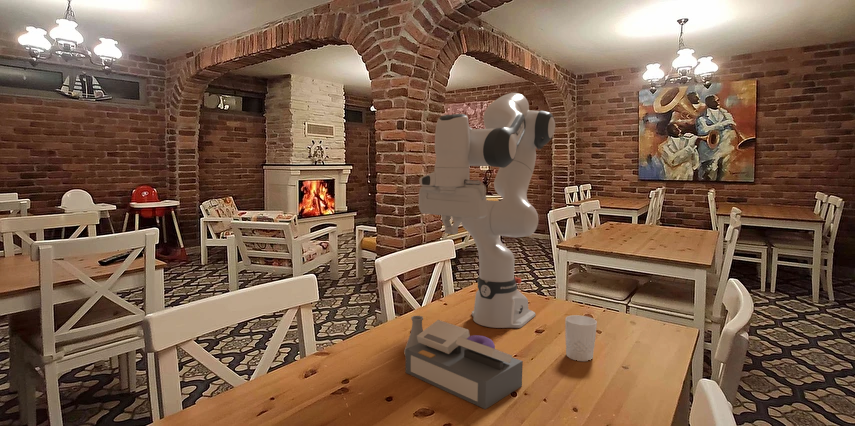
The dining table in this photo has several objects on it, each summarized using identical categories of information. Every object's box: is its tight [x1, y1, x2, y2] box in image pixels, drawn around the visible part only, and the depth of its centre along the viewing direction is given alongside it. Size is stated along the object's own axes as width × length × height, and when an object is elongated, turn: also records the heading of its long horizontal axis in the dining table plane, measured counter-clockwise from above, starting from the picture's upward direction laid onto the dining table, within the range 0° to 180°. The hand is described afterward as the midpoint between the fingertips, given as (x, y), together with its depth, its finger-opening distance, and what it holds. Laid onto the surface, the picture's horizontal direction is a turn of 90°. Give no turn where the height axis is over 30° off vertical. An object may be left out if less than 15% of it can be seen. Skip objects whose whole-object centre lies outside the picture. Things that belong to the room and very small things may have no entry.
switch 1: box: [417, 319, 471, 354], centre depth 112 cm, size 8×10×2 cm
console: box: [405, 343, 524, 410], centre depth 108 cm, size 14×24×8 cm, turn 46°
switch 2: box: [456, 336, 513, 363], centre depth 104 cm, size 8×10×2 cm
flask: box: [403, 315, 424, 357], centre depth 123 cm, size 7×7×10 cm
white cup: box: [564, 314, 598, 362], centre depth 122 cm, size 8×8×10 cm
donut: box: [467, 334, 496, 349], centre depth 124 cm, size 10×9×5 cm
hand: (451, 233), depth 117 cm, fingers closed
